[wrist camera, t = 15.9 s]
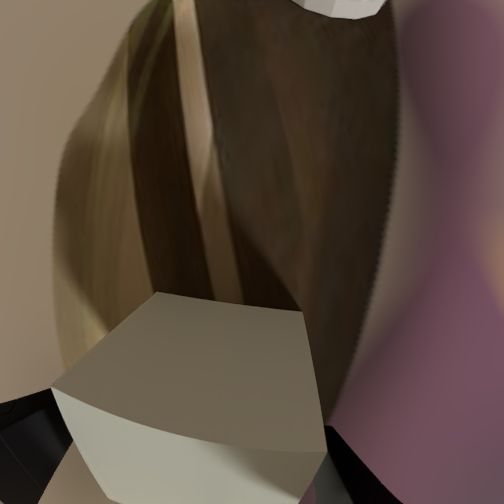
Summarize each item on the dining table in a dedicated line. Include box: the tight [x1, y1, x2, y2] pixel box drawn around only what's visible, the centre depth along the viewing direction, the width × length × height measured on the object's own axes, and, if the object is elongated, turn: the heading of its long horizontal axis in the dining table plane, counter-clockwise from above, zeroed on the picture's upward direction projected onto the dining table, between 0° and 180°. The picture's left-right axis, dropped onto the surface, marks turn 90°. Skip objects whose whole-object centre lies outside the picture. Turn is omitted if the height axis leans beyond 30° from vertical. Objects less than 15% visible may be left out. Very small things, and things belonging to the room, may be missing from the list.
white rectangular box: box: [50, 292, 327, 504], centre depth 10 cm, size 8×8×9 cm
